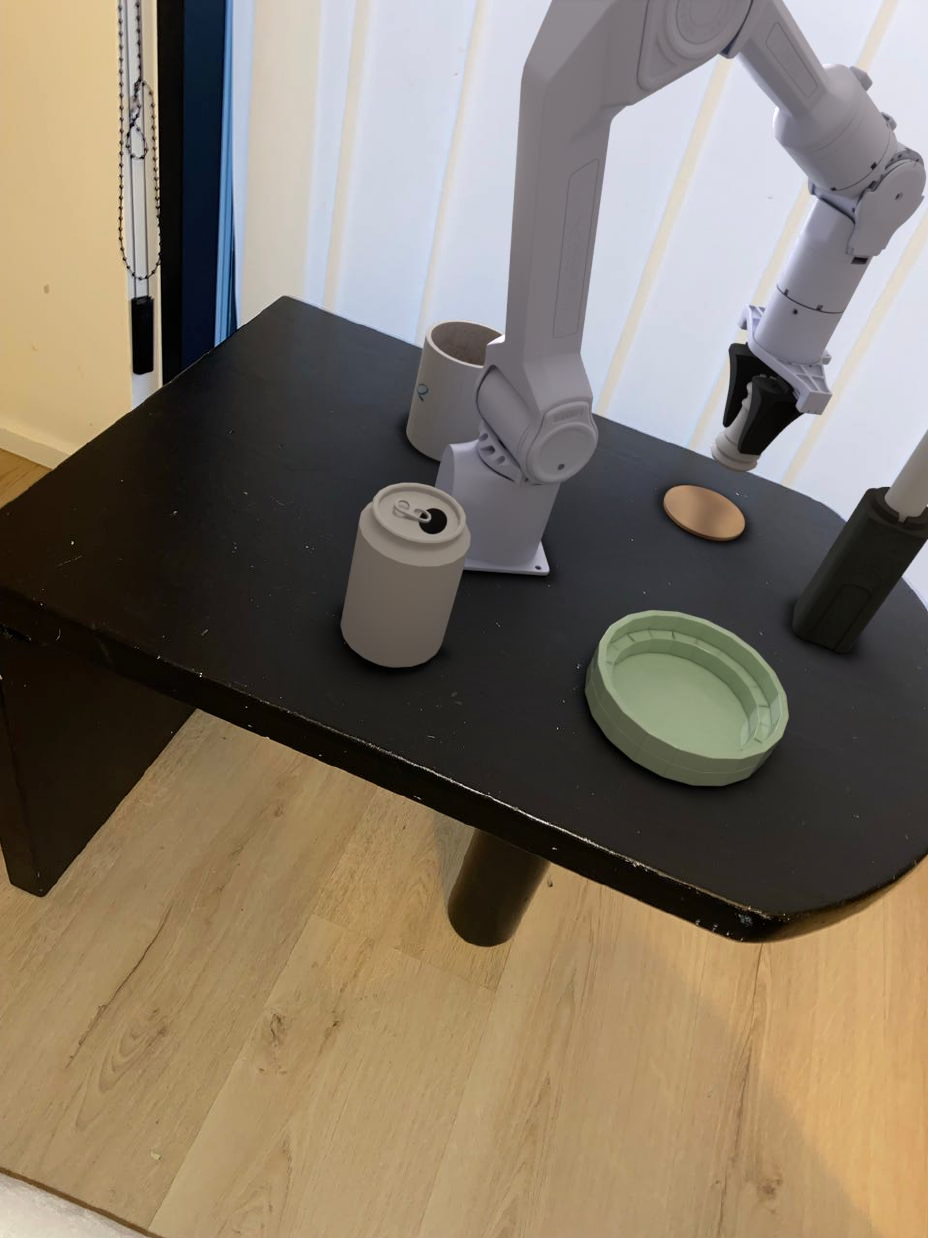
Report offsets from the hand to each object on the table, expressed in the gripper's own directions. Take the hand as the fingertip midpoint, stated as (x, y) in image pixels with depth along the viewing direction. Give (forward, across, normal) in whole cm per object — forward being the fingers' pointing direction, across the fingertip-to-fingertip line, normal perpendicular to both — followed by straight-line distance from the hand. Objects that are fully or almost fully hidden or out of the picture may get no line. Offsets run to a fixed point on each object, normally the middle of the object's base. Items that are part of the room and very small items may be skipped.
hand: (740, 439), depth 84 cm
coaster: (+9, +1, 0) cm, 9 cm away
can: (+9, -18, +32) cm, 38 cm away
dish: (+9, -24, +11) cm, 28 cm away
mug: (+9, +10, +23) cm, 27 cm away
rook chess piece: (+2, 0, 0) cm, 2 cm away
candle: (+9, -14, -6) cm, 18 cm away
